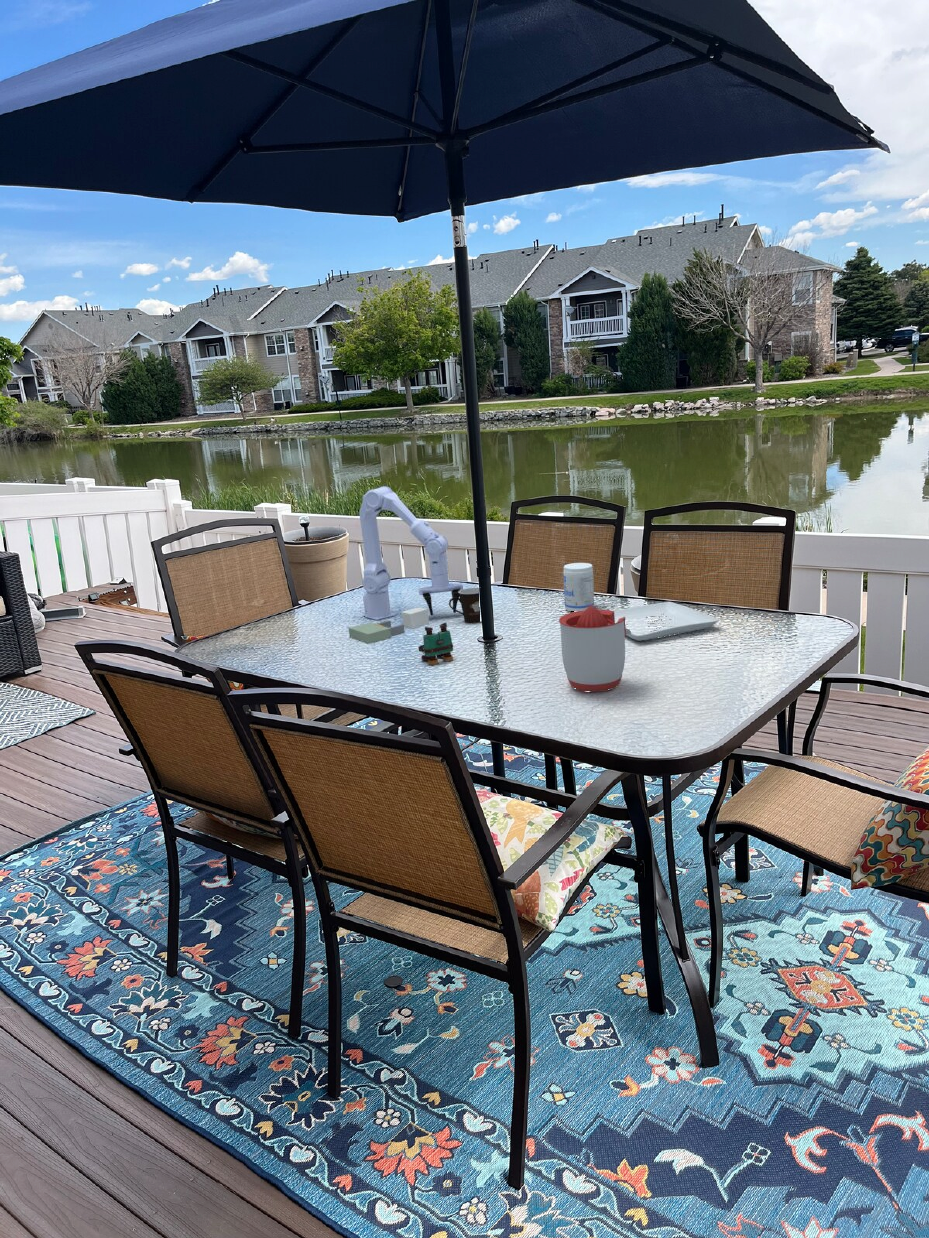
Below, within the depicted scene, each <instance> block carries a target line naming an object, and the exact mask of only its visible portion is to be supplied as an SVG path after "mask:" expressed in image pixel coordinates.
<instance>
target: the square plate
mask: <svg viewBox="0 0 929 1238" xmlns="http://www.w3.org/2000/svg"><path fill="white" fill-rule="evenodd" d="M613 611H614V616H615V622H618V619H620V618H623V617H625V620H626V619H641V618H642V619H643V617H645V616H667V617H660V618H659V617H658V618H648V619H672V620H667V621H663V622H662V621H657V622H656V621H655V622H654V621H653V622H652V621H649V622H645V621H644V622H637V623H670V624H668V625H667V624H666V625H663V624H662V625H661V624H660V625H658V626H674V627H667V628H664V627H663V628H660V629H659V628H657V629H656V628H655V629H654V628H653V629H652V628H649V629H645V628H644V629H629V630H659V631H656V632H655V631H654V632H653V631H652V632H649V631H648V632H647V631H646V632H642V631H641V632H631V634H626V637H629V638H631V639H632V640H635V641H638V642H640V641H641V642H642V640H644V641H650V640H649V639H651V640H655V639H654V638H657V639H659V638H658V637H662V638H665V637H664V636H667V637H670V636H669V635H672V636H675V635H674V634H678V633H683V634H686V633H685V632H688V633H691V632H690V631H693V632H696V631H695V630H697V631H700V630H705V629H707V628H710V627H713V626H714V625H715V624H717V622H719V621H720V619H719V618H717V617H714V616H712V615H709V614H707V613H706V612H705V613H704V612H702V611H699V610H697V609H694V608H691V607H688V606H685V605H682V604H679V603H675V602H672V601H664V602H658V603H652V604H645V605H639V606H633V607H628V608H623V609H622V608H621V609H619V610H618V609H617V610H613ZM663 613H665V614H664V615H663ZM661 614H662V615H661ZM644 619H647V618H644ZM673 619H675V620H673ZM632 623H633V622H632ZM635 623H636V622H635ZM673 623H675V624H673ZM634 626H635V625H634ZM641 626H642V625H641ZM643 626H644V625H643ZM646 626H651V625H646ZM652 626H657V625H652ZM675 626H676V627H675ZM633 633H648V634H642V635H641V634H640V635H639V634H638V635H637V634H633ZM678 635H679V634H678Z"/></svg>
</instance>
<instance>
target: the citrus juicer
mask: <svg viewBox="0 0 929 1238" xmlns="http://www.w3.org/2000/svg"><path fill="white" fill-rule="evenodd" d="M614 611H615V610H609V609H597V608H596V607H595V605H594V606H589V607H588V608H587V609H586V610H584V611H577V612H569V613H566V614H563V615H562V616H560V617H559V619H558V622H559V625H560V628H559V629H560V642H561V644H560V645H561V657H562V662H563V663H562V664H563V667H564V671H565V674H566V678H567V680H568V682H569V685H570V686H571V687H572V688H573V689H574V688H576V689H575V690H577V689H578V690H577V691H580V690H583V691H582V692H584V691H600V692H605V691H604V690H606V691H609V690H608V689H610V690H612V689H611V688H613V689H615V687H616V686H617V687H618V686H619V685H620V683H621V680H622V677H623V673H624V672H623V671H624V669H625V668H624V667H625V661H626V640H625V638H627V635H626V634H631V631H630V630H629V629H627V628H626V625H625V617H623V618H620V619H618V622H616V623H615V616H614ZM618 684H619V685H618ZM617 687H616V688H617Z"/></svg>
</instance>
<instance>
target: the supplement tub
mask: <svg viewBox="0 0 929 1238" xmlns="http://www.w3.org/2000/svg"><path fill="white" fill-rule="evenodd" d="M562 574H563V595H564V609H565V610H566V611H567V610H568V612H570V611H584V610H586V609H587V608H588V607H589V606H594V607H595V593H594V587H595V586H594V585H595V584H594V569H593V564H591V563H588V562H573V563H568V564H565V565H563V573H562Z"/></svg>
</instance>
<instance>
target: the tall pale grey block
mask: <svg viewBox="0 0 929 1238" xmlns="http://www.w3.org/2000/svg"><path fill="white" fill-rule="evenodd" d="M400 613H401V614H400V615H401V622H402V623H401V624H403V625H404V628H408V629H412V630H413V629H416V628H419V627H422V626H426V625H430V620H429V608H424V607H417V606H416V607H415V608H411V609H410V608H409V609H406V610H404V611H401V612H400Z"/></svg>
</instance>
